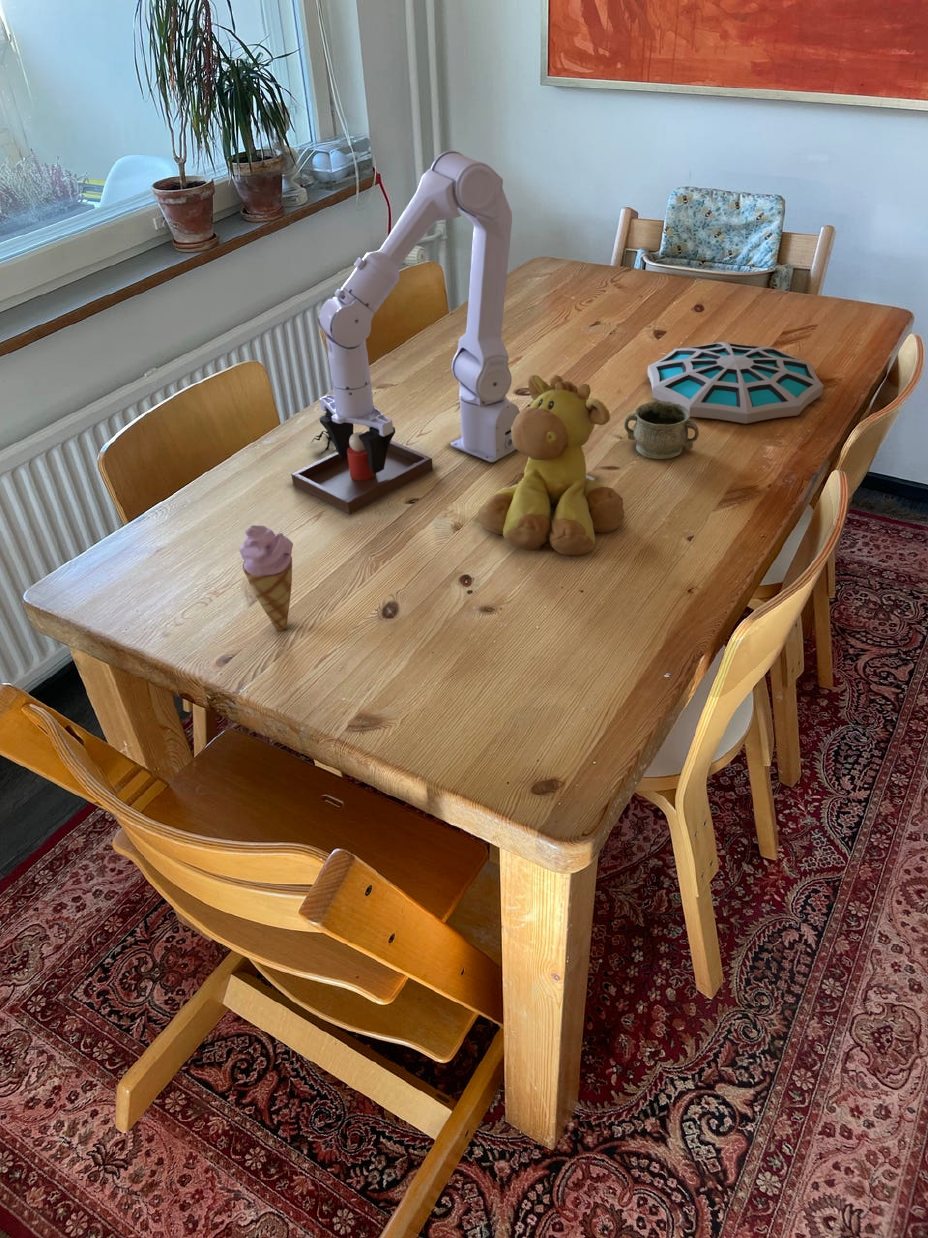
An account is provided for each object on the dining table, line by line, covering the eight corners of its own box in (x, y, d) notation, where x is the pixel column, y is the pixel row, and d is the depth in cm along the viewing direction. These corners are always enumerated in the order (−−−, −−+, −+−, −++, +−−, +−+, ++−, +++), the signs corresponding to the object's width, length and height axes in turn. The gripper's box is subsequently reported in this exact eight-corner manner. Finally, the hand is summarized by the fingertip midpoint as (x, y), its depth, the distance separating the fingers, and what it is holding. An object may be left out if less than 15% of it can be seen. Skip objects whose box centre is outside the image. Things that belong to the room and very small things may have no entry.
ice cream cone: (260, 612, 122) (237, 513, 113) (307, 607, 122) (289, 509, 113) (255, 644, 117) (231, 543, 108) (305, 640, 117) (286, 539, 108)
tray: (433, 469, 150) (432, 457, 148) (349, 514, 140) (347, 502, 139) (375, 444, 157) (374, 433, 156) (293, 485, 148) (291, 473, 146)
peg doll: (380, 473, 148) (376, 431, 144) (361, 483, 146) (356, 441, 142) (364, 465, 151) (358, 424, 146) (345, 475, 148) (339, 433, 144)
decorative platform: (627, 411, 163) (629, 383, 160) (664, 347, 184) (666, 322, 181) (812, 435, 153) (818, 406, 150) (829, 364, 174) (834, 338, 171)
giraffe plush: (462, 544, 132) (455, 419, 121) (517, 465, 149) (516, 349, 138) (603, 570, 126) (610, 441, 114) (643, 484, 143) (654, 364, 131)
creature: (307, 462, 156) (351, 455, 153) (296, 433, 153) (340, 426, 150) (322, 440, 162) (364, 433, 159) (311, 412, 159) (354, 404, 156)
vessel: (616, 455, 151) (618, 419, 147) (629, 431, 157) (632, 395, 153) (690, 466, 147) (695, 429, 143) (701, 440, 153) (706, 405, 149)
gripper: (299, 377, 141) (312, 458, 149) (363, 404, 132) (373, 488, 141) (335, 362, 144) (346, 442, 153) (399, 387, 136) (407, 469, 145)
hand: (361, 463), depth 147 cm, fingers open, 7 cm apart
